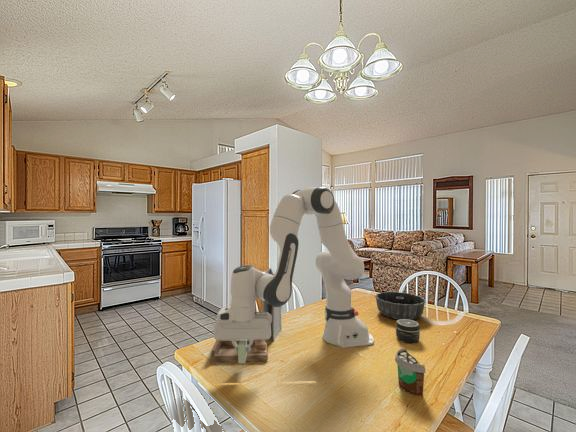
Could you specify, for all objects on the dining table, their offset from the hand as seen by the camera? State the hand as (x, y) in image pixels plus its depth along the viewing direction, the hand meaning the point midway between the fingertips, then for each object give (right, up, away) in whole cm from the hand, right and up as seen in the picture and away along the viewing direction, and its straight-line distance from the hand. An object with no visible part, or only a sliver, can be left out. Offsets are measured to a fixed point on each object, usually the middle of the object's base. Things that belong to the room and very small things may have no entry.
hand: (242, 350), depth 102 cm
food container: (+55, -8, -9) cm, 56 cm away
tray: (-2, -8, +13) cm, 15 cm away
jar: (+70, -8, +27) cm, 76 cm away
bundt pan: (+79, -8, +59) cm, 98 cm away
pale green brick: (0, -3, 0) cm, 3 cm away
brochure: (+9, -8, +31) cm, 34 cm away
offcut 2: (+5, -7, +13) cm, 16 cm away
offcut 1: (+5, -5, +14) cm, 15 cm away
